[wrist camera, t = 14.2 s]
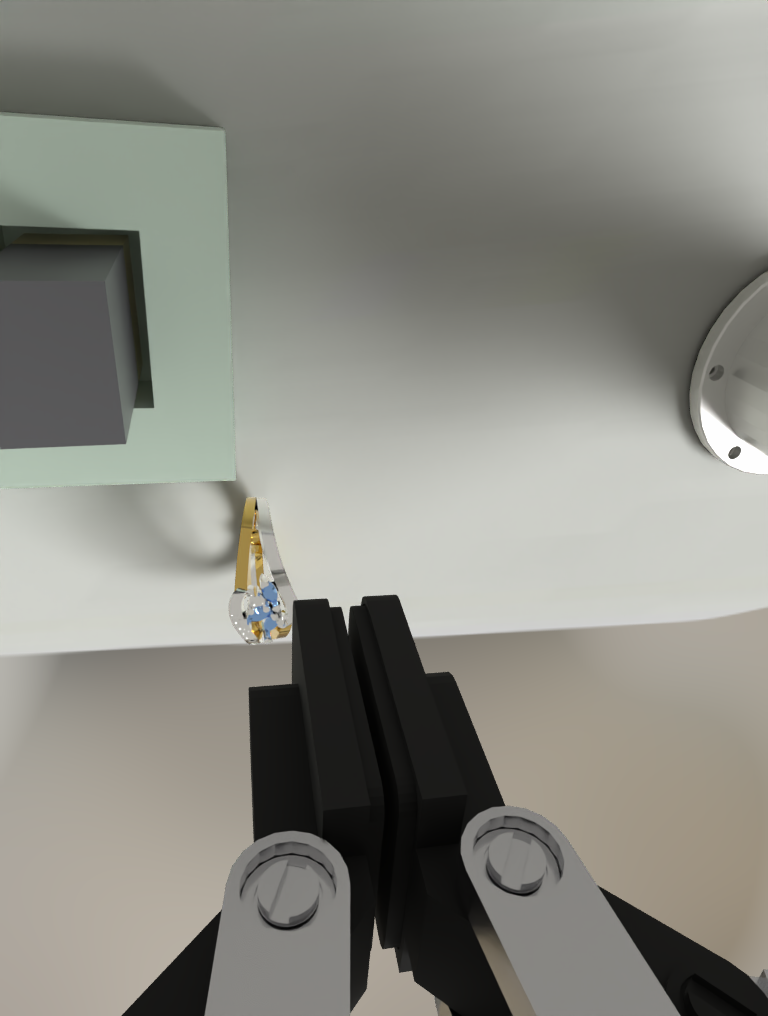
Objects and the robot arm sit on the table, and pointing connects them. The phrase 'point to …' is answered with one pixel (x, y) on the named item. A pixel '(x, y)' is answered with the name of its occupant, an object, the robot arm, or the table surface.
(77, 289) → the plug
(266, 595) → the ring
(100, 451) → the socket
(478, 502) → the table surface
